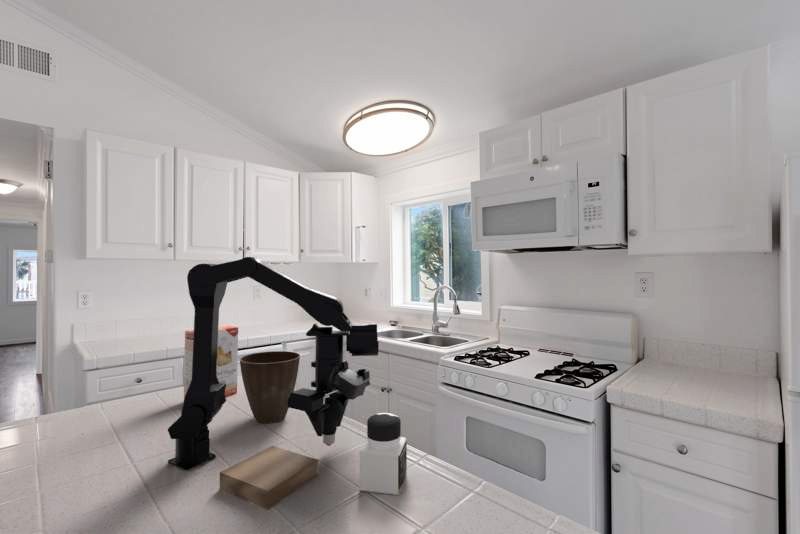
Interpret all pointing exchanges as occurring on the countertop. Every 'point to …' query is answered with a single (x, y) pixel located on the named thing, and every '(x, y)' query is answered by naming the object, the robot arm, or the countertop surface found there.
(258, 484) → the walnut base
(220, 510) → the countertop surface
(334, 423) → the light bulb
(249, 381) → the plant pot
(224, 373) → the cracker box
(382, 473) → the medicine bottle
